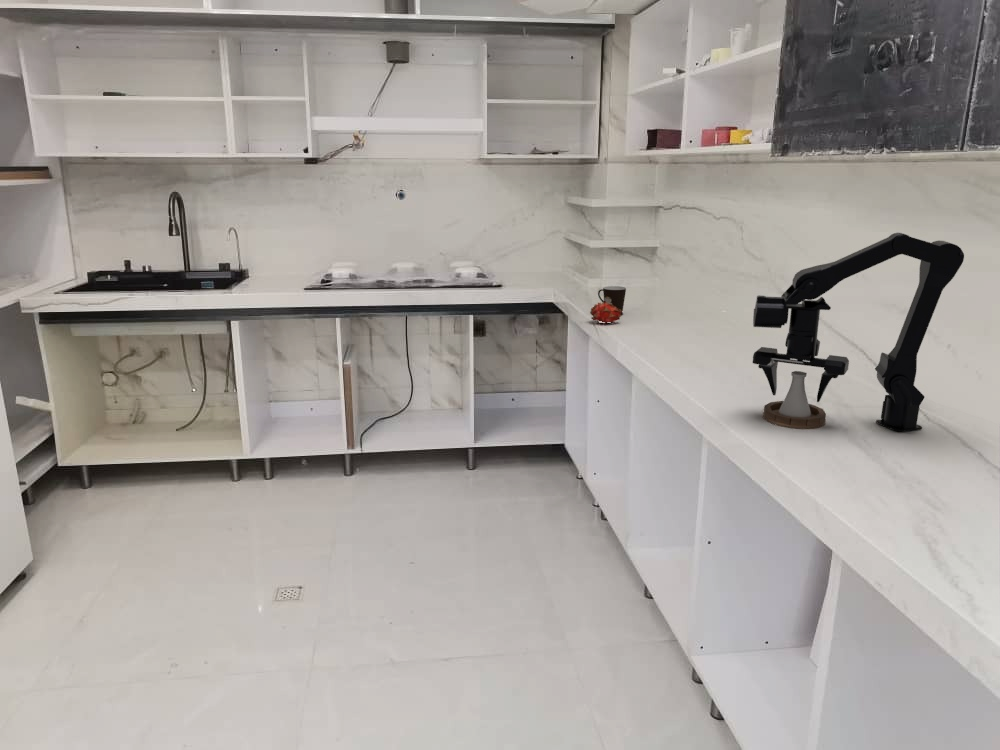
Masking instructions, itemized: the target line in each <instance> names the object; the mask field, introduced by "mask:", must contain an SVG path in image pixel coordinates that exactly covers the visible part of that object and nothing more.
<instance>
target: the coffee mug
mask: <svg viewBox="0 0 1000 750" xmlns="http://www.w3.org/2000/svg"><path fill="white" fill-rule="evenodd" d="M626 291H627V287H625V286H619V285H618V286H617V285H614V286H613V285H610V286H609V285H608V286H603V287H602V288H601V289H599V290H598V291H597V295H598V298H599V300H600V301H601V303H603V302H604V303H605V302H607V304H610V303H612V305H614V306H615V307H616V308H617V309H620V310H621V311H624V305H625V304H624V303H625V299H626ZM601 292H603V299H602V297H601Z"/></svg>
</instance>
